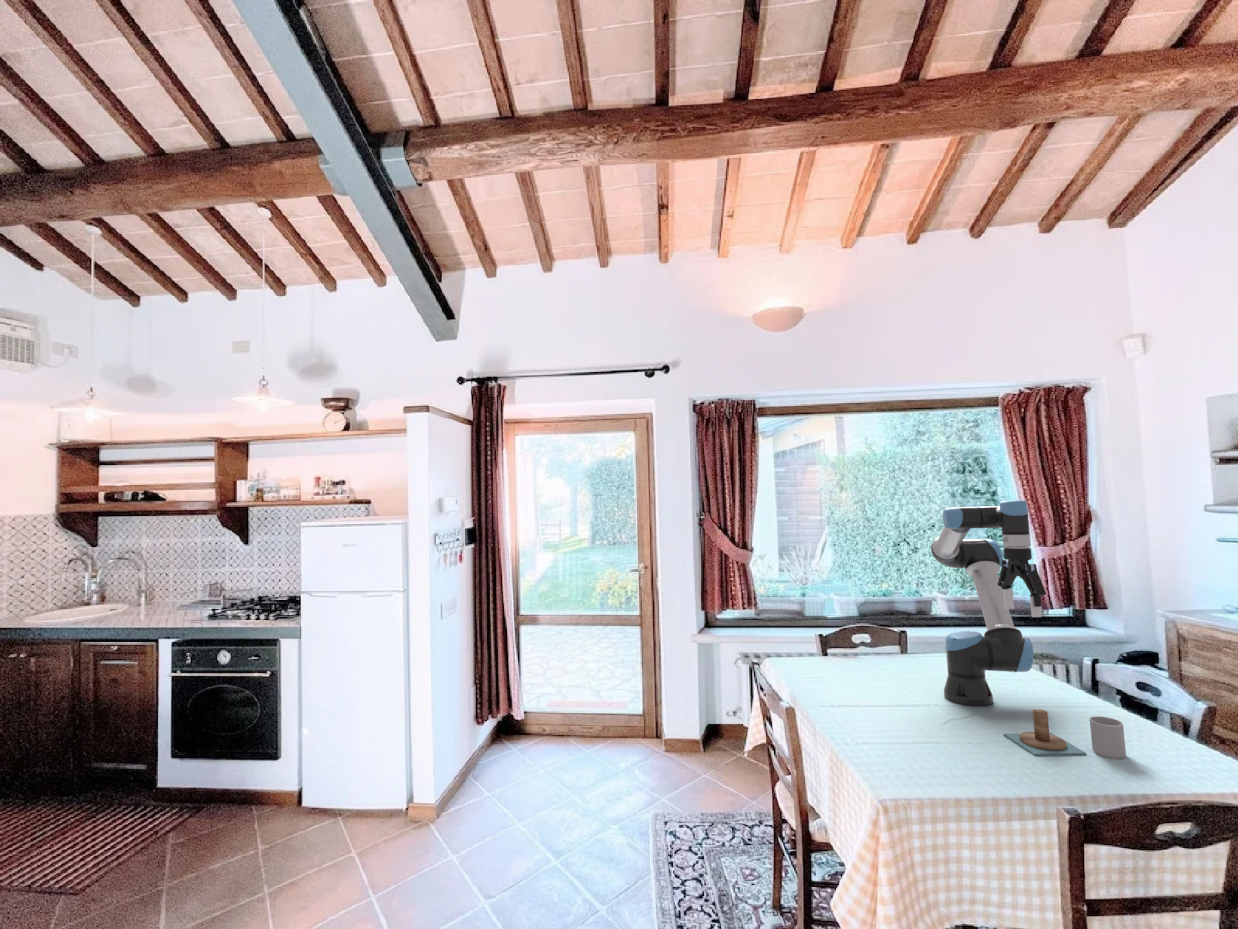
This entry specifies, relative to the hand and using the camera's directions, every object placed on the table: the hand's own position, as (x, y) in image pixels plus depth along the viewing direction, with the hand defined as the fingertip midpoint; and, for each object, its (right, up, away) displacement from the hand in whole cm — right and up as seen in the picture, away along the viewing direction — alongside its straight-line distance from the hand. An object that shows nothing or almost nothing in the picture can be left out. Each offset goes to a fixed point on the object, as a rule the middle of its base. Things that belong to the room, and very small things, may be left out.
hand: (1022, 612), depth 185 cm
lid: (-8, -33, -19) cm, 39 cm away
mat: (-8, -34, -19) cm, 39 cm away
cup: (+6, -33, -25) cm, 42 cm away
